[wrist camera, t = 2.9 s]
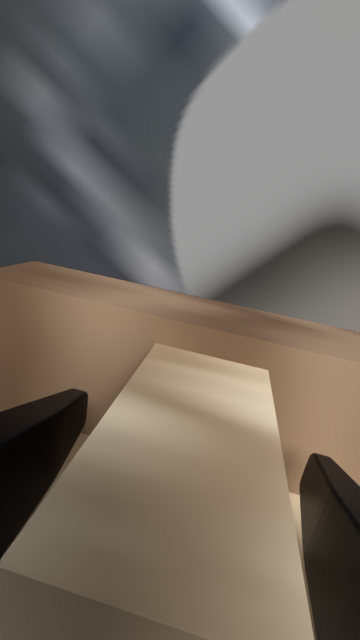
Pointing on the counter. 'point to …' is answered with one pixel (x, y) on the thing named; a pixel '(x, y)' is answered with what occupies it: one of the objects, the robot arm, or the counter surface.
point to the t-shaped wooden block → (166, 519)
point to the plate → (183, 333)
